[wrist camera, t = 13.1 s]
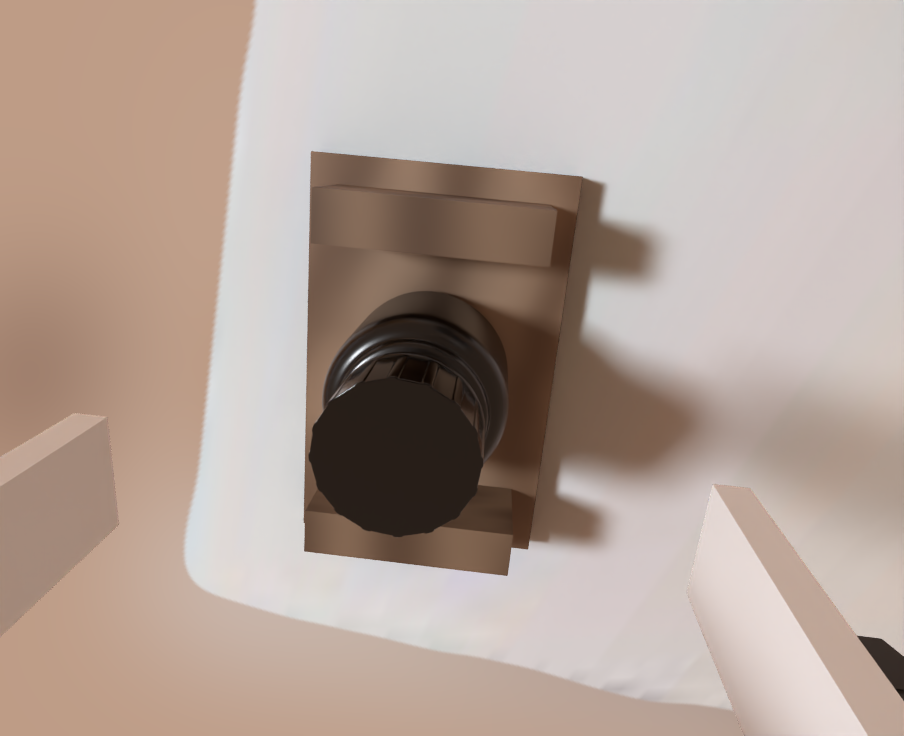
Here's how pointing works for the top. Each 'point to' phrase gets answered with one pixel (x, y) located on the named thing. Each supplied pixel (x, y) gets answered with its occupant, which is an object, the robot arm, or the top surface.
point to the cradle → (462, 276)
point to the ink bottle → (410, 414)
